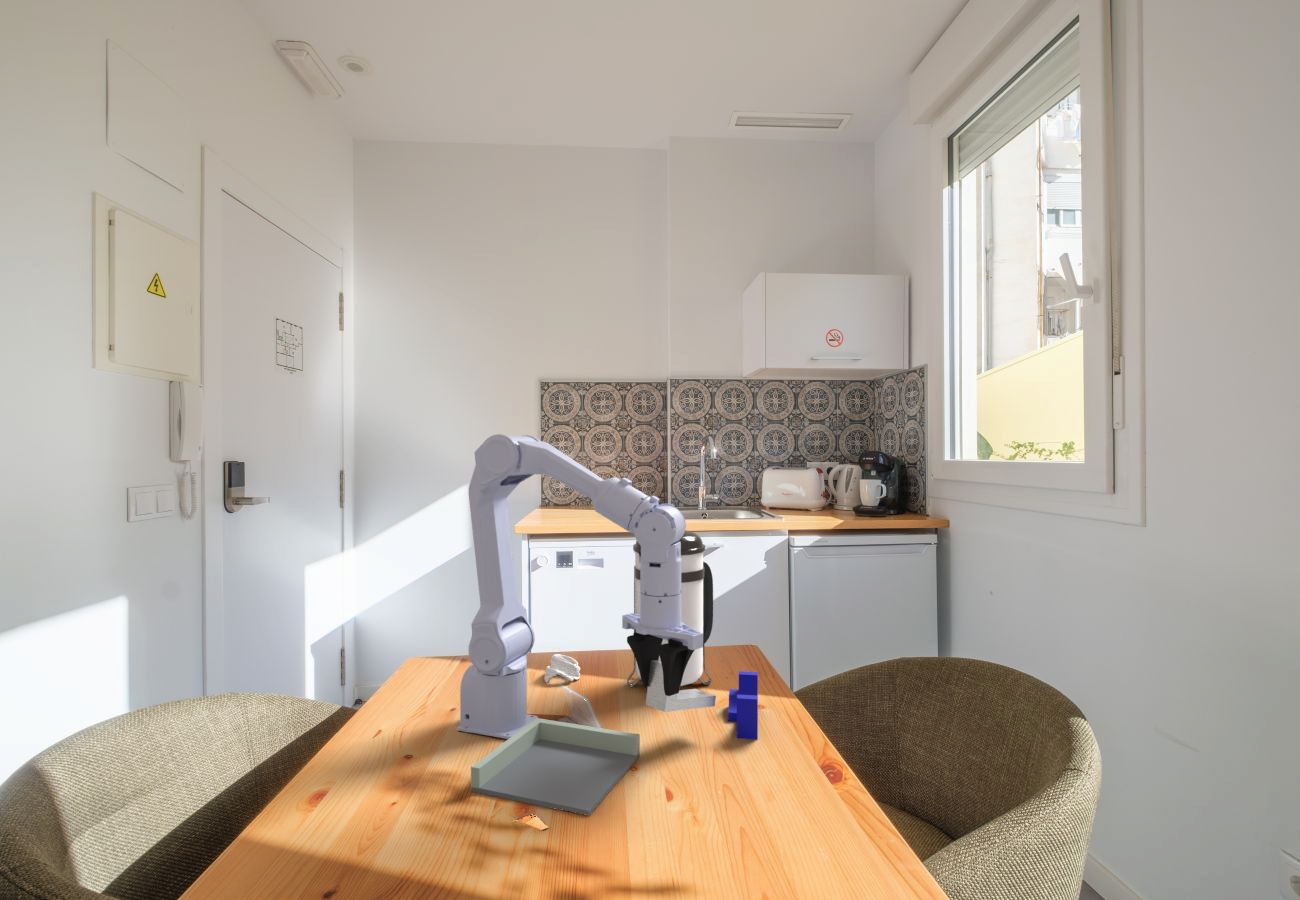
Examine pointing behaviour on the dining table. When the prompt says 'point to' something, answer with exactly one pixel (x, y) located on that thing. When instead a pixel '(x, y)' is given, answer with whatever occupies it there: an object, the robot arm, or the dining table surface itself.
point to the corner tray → (557, 765)
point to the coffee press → (687, 601)
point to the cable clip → (745, 705)
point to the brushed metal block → (676, 701)
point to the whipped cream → (562, 668)
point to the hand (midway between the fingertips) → (660, 689)
